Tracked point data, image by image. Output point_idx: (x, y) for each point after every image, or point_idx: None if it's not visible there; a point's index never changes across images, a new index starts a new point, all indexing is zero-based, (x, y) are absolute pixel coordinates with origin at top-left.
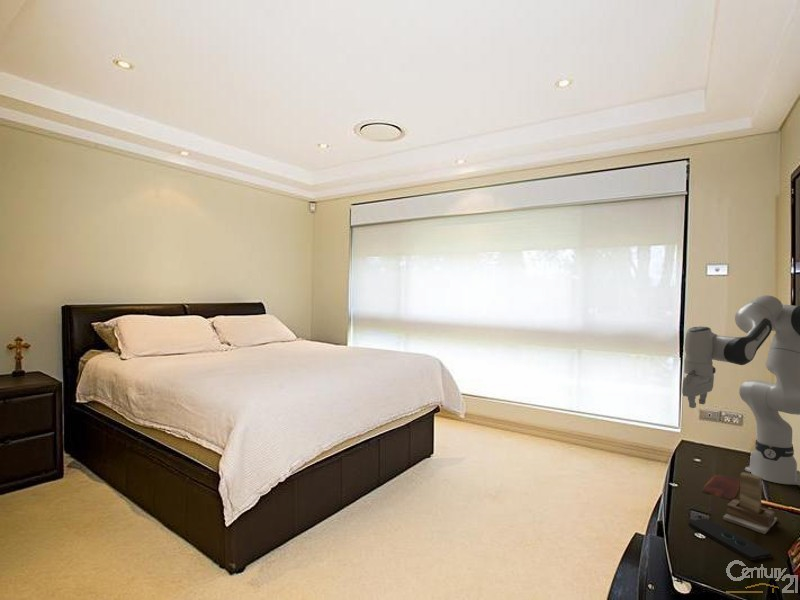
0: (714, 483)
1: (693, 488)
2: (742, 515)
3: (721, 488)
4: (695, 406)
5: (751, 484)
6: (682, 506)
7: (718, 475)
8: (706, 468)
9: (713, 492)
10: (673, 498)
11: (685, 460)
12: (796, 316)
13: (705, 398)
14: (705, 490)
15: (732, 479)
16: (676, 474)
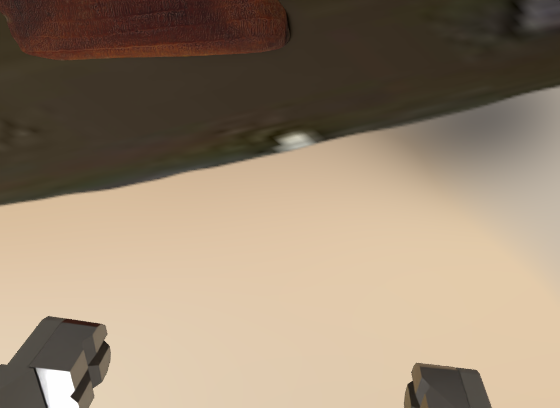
0: (171, 28)
1: (277, 81)
2: None
3: None
4: (440, 375)
5: None
6: (507, 64)
7: (47, 41)
8: (7, 98)
9: (269, 7)
10: (445, 109)
11: (2, 176)
12: None
13: (6, 380)
14: (282, 37)
15: None
16: (183, 163)
